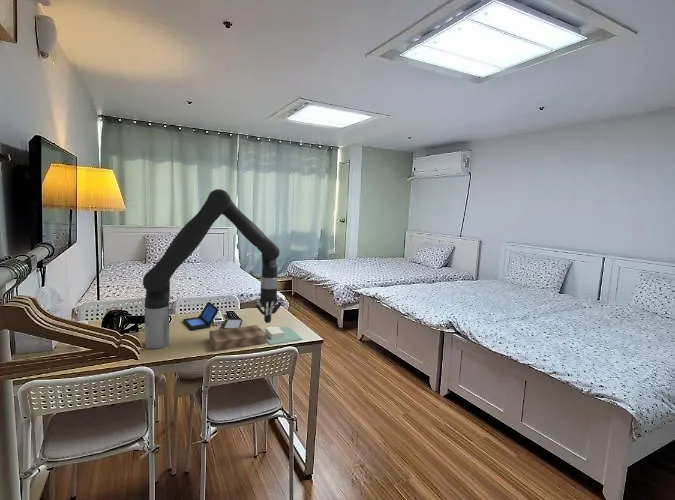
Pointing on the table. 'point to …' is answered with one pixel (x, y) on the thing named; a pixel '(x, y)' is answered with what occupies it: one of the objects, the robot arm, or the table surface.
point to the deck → (237, 337)
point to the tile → (274, 332)
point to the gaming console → (232, 323)
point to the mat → (288, 336)
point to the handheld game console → (202, 318)
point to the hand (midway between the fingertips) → (267, 322)
